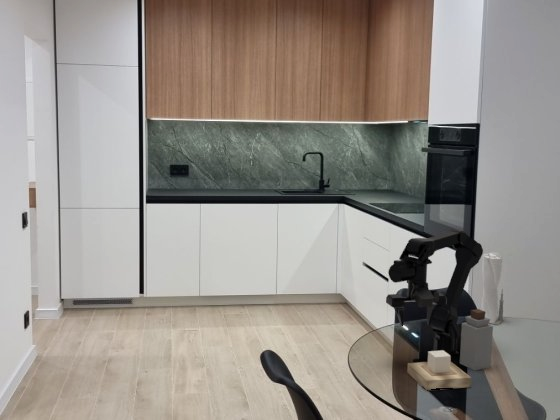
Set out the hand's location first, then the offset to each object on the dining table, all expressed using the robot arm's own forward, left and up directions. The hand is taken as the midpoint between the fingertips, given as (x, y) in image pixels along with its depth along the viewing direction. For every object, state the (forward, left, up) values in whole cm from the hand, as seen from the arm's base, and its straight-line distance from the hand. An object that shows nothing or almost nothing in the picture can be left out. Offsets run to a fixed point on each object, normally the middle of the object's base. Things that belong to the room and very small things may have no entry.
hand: (415, 325), depth 219 cm
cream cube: (-1, +16, -9) cm, 18 cm away
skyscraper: (-46, -34, -12) cm, 58 cm away
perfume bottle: (-18, +7, -12) cm, 23 cm away
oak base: (-1, +16, -12) cm, 20 cm away
